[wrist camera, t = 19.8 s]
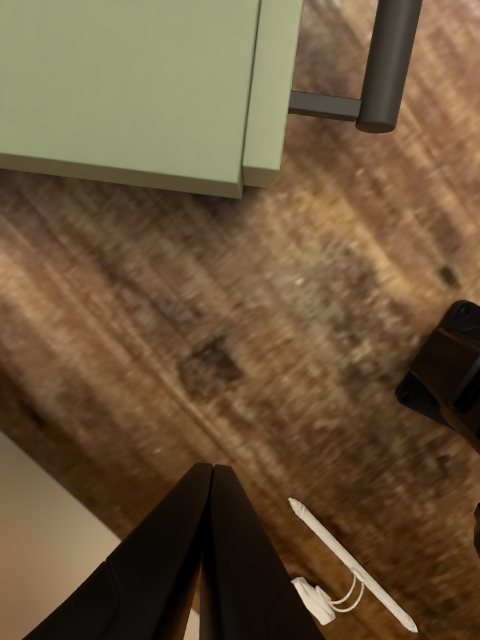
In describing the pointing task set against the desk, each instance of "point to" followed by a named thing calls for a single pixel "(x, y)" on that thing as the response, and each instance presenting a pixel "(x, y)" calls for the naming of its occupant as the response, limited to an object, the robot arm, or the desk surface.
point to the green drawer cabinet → (128, 90)
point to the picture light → (320, 600)
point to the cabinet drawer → (278, 99)
